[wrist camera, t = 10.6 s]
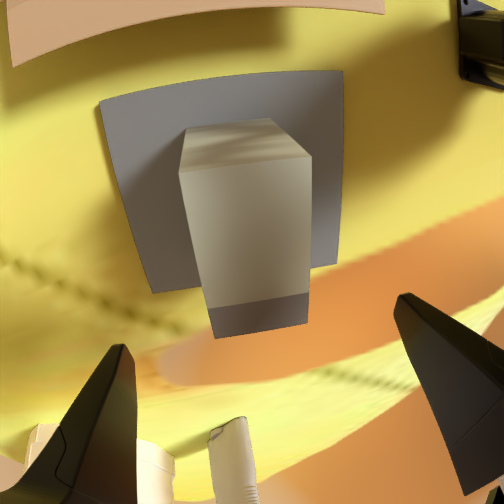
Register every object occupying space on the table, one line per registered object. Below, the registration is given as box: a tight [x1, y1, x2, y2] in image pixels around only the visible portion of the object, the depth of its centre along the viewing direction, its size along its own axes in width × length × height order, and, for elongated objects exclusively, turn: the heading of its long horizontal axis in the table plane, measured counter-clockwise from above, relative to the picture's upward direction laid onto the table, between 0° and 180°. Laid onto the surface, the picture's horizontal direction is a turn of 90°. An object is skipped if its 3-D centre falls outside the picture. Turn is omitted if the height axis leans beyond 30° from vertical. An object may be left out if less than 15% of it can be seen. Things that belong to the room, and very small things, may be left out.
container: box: [23, 423, 175, 504], centre depth 32 cm, size 25×24×16 cm
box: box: [179, 118, 312, 339], centre depth 15 cm, size 4×8×7 cm, turn 5°
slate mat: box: [99, 70, 344, 293], centre depth 18 cm, size 13×13×1 cm
